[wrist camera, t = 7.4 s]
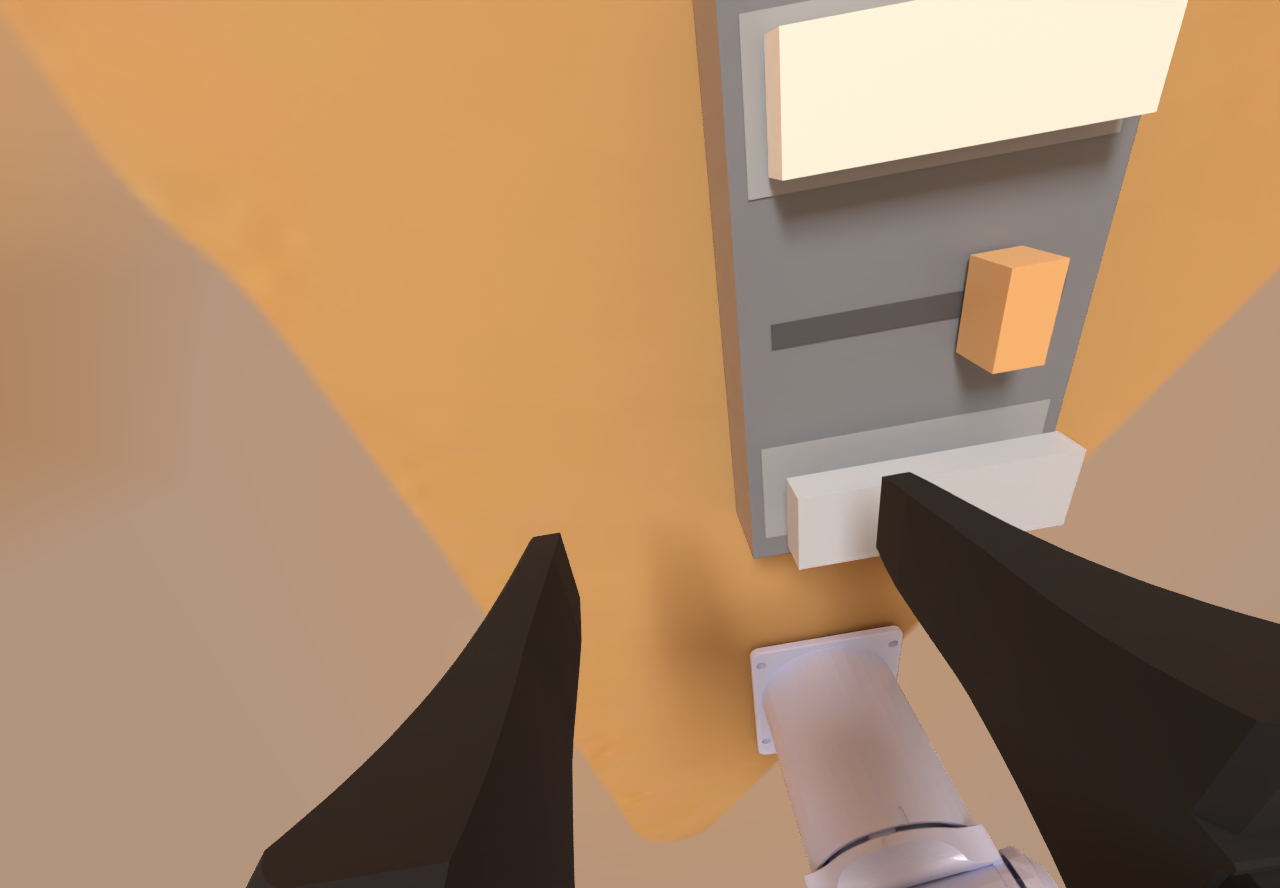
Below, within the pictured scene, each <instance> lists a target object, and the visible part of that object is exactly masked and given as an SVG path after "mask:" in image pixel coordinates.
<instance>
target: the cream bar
mask: <svg viewBox="0 0 1280 888" xmlns="http://www.w3.org/2000/svg"><path fill="white" fill-rule="evenodd" d="M1187 2H1188V0H914V1H909V2H903V3H898V4H893V5H887V6H882V7H877V8H872V9H866V10H861V11H856V12H851V13H845V14H840V15H835V16H829V17H824V18H819V19H814V20H808V21H803V22H798V23H793V24H787V25H782V26H778V27H777V28H775V29H773V30H772V31H770V32H768V33H766V34H765V35H764V56H765V86H766V116H767V146H768V176H769V178H773V179H778V180H782V181H784V180H789V179H795V178H800V177H805V176H811V175H816V174H822V173H827V172H833V171H838V170H843V169H849V168H854V167H860V166H865V165H871V164H876V163H881V162H887V161H892V160H898V159H903V158H909V157H914V156H919V155H925V154H930V153H936V152H941V151H947V150H952V149H957V148H963V147H968V146H974V145H979V144H984V143H990V142H995V141H1001V140H1006V139H1012V138H1017V137H1022V136H1028V135H1033V134H1039V133H1044V132H1050V131H1055V130H1060V129H1066V128H1071V127H1077V126H1082V125H1088V124H1093V123H1098V122H1104V121H1109V120H1115V119H1120V118H1126V117H1131V116H1136V115H1142V114H1147V113H1153V112H1156V111H1157V107H1158V104H1159V100H1160V97H1161V93H1162V90H1163V86H1164V83H1165V79H1166V76H1167V72H1168V69H1169V65H1170V62H1171V58H1172V55H1173V51H1174V48H1175V44H1176V40H1177V37H1178V33H1179V30H1180V26H1181V23H1182V19H1183V16H1184V12H1185V9H1186V5H1187Z"/></svg>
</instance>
